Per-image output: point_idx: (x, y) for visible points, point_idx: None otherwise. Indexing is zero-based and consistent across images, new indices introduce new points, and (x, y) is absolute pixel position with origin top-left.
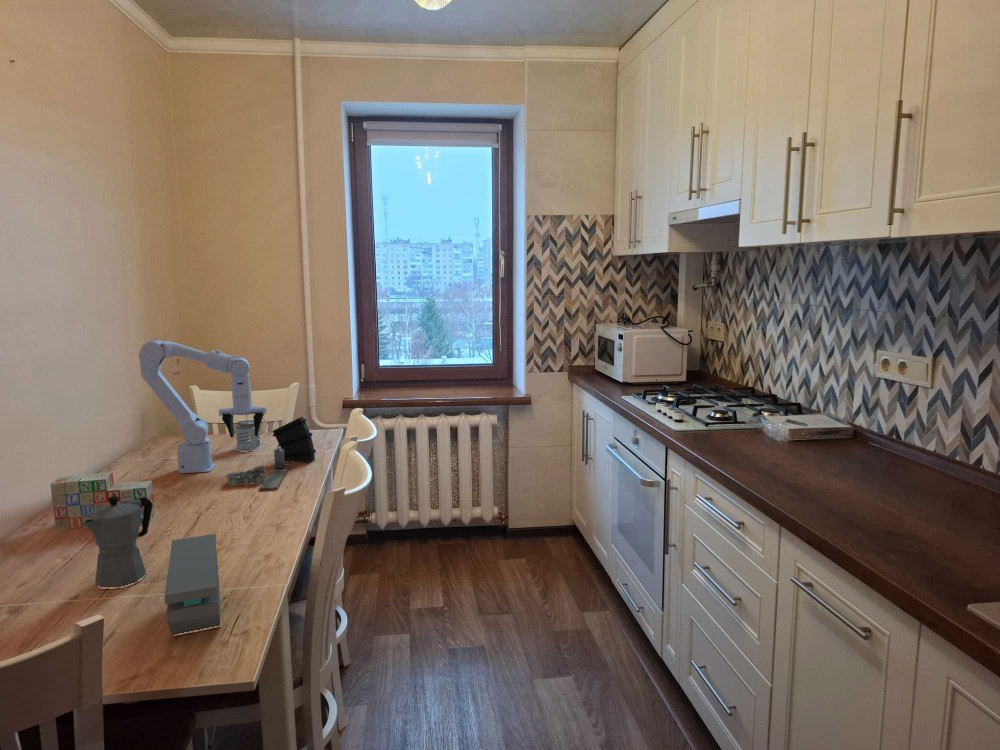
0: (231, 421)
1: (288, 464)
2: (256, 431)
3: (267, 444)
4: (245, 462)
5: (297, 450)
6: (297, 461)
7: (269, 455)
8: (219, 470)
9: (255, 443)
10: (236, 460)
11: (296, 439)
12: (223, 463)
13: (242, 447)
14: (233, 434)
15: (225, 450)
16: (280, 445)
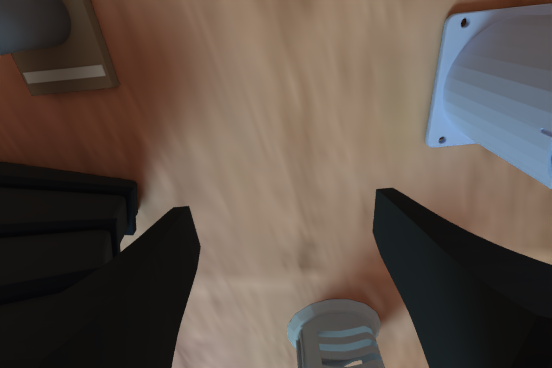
0: (450, 328)
1: (37, 91)
2: (156, 228)
3: (284, 361)
4: (297, 179)
5: (7, 197)
6: (52, 169)
7: (229, 261)
8: (394, 52)
9: (306, 340)
10: (345, 209)
11: None
12: (393, 171)
13: (350, 319)
14: (379, 228)
15: (409, 318)
16: (93, 222)
